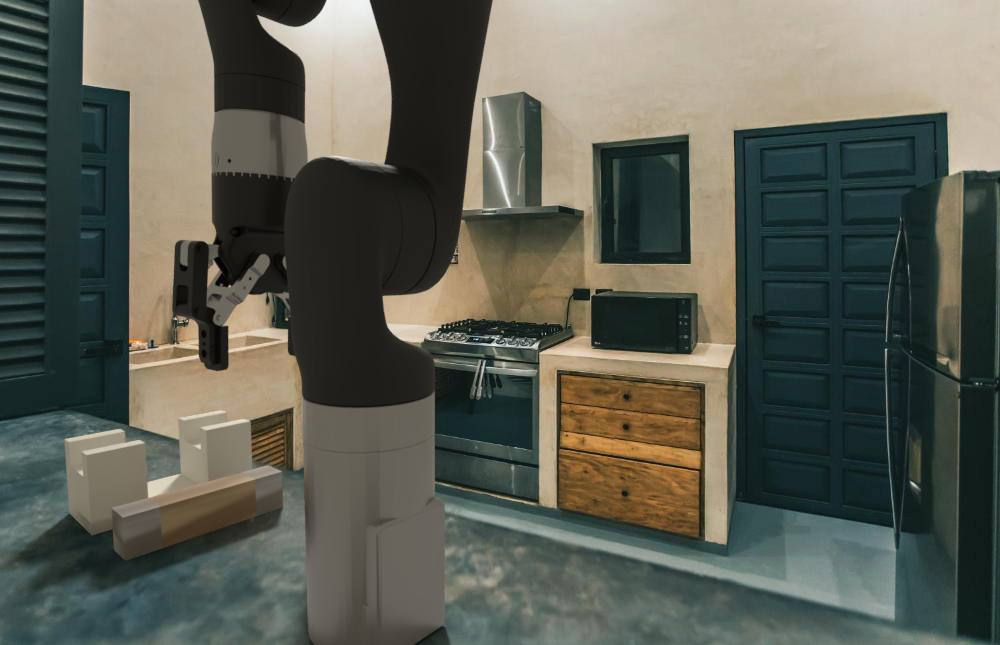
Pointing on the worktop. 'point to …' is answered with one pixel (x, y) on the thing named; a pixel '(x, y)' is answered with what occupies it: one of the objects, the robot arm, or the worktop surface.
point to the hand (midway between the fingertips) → (260, 362)
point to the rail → (194, 511)
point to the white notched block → (123, 472)
